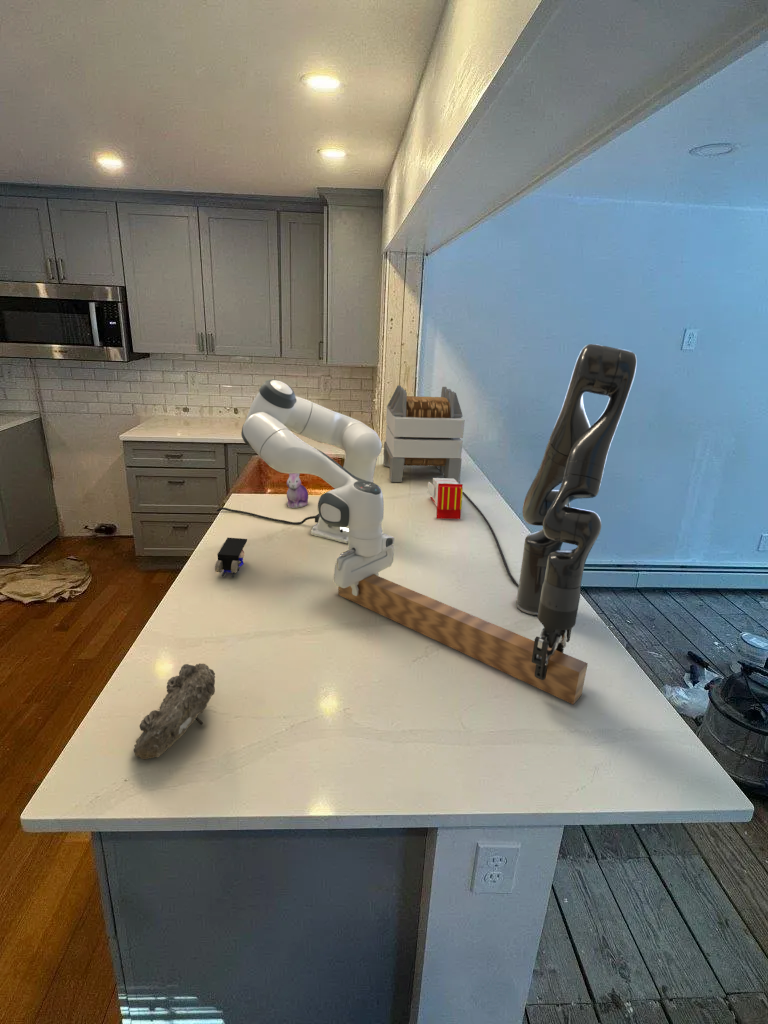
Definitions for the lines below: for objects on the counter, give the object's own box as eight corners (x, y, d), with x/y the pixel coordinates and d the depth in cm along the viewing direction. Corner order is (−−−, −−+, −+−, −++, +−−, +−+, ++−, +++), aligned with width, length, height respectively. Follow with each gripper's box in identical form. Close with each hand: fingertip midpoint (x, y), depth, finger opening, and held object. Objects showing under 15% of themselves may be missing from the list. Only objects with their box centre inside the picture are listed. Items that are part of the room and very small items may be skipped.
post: (338, 594, 156) (338, 569, 153) (349, 589, 159) (349, 564, 156) (573, 704, 116) (579, 672, 113) (581, 694, 119) (587, 663, 117)
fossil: (165, 664, 116) (216, 632, 111) (198, 695, 118) (250, 665, 113) (108, 752, 96) (167, 718, 91) (150, 786, 99) (209, 755, 94)
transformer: (382, 463, 289) (386, 382, 275) (445, 464, 293) (451, 384, 279) (390, 482, 257) (394, 392, 243) (460, 483, 261) (468, 394, 247)
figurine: (290, 510, 218) (289, 472, 212) (281, 502, 226) (281, 465, 221) (313, 507, 222) (313, 470, 217) (304, 499, 230) (304, 463, 225)
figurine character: (238, 584, 162) (249, 557, 175) (236, 562, 158) (247, 536, 172) (215, 584, 161) (227, 556, 175) (212, 561, 158) (225, 535, 171)
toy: (455, 474, 240) (467, 485, 211) (453, 505, 243) (464, 520, 214) (426, 473, 240) (434, 484, 211) (425, 504, 243) (432, 519, 213)
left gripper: (346, 558, 138) (345, 608, 143) (398, 536, 153) (396, 582, 158) (328, 551, 142) (327, 600, 146) (381, 530, 157) (378, 575, 161)
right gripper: (562, 621, 108) (550, 693, 113) (590, 595, 118) (578, 662, 124) (526, 607, 112) (516, 677, 118) (556, 583, 123) (545, 649, 128)
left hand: (363, 590), depth 152 cm, fingers closed on post, 4 cm apart
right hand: (548, 669), depth 121 cm, fingers open, 7 cm apart
